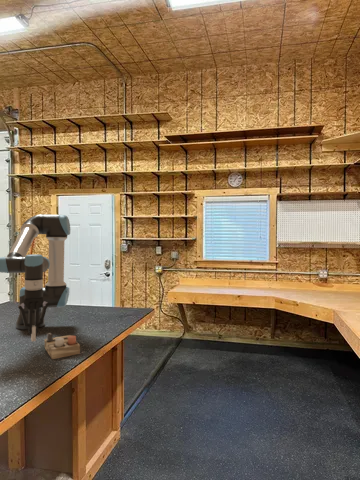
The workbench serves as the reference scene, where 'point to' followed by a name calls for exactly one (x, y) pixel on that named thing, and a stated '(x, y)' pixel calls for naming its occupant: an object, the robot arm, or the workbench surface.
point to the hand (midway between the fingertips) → (33, 340)
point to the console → (61, 348)
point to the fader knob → (49, 337)
